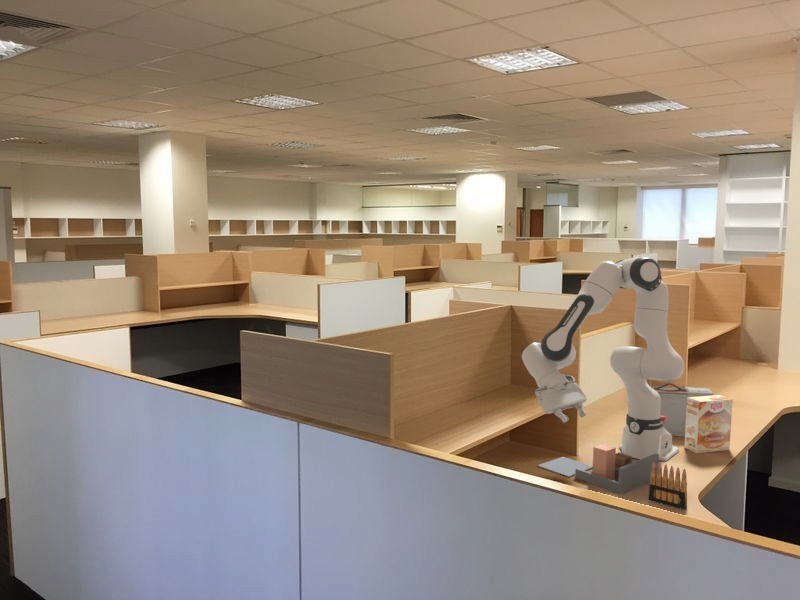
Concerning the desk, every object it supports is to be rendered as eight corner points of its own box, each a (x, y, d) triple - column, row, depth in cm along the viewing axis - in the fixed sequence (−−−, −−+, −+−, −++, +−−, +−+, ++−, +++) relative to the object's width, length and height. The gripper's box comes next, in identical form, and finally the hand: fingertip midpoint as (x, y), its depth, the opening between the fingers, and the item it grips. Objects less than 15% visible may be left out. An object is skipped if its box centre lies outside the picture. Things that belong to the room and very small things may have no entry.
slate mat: (562, 457, 236) (562, 456, 236) (593, 467, 226) (593, 466, 226) (537, 466, 227) (537, 465, 227) (568, 477, 217) (568, 476, 217)
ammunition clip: (648, 500, 199) (649, 461, 198) (650, 498, 201) (652, 460, 199) (684, 509, 192) (686, 470, 191) (687, 507, 194) (688, 468, 192)
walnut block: (618, 469, 225) (619, 452, 224) (631, 473, 221) (632, 456, 220) (610, 472, 222) (610, 455, 221) (623, 477, 218) (623, 459, 217)
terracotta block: (601, 476, 219) (602, 443, 217) (614, 480, 215) (615, 447, 214) (592, 479, 215) (593, 446, 214) (605, 484, 212) (606, 450, 210)
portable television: (711, 438, 258) (715, 363, 255) (647, 434, 263) (650, 360, 260) (704, 429, 270) (707, 357, 267) (643, 425, 275) (646, 355, 272)
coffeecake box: (697, 453, 240) (699, 401, 238) (683, 447, 247) (686, 396, 245) (730, 450, 245) (733, 398, 243) (716, 444, 251) (719, 394, 249)
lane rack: (612, 463, 230) (612, 441, 229) (657, 478, 217) (658, 454, 216) (575, 477, 217) (575, 454, 216) (621, 493, 204) (622, 468, 203)
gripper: (538, 384, 220) (561, 419, 214) (576, 375, 233) (598, 408, 226) (527, 394, 224) (550, 429, 218) (565, 385, 237) (587, 418, 230)
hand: (575, 418), depth 222 cm, fingers open, 8 cm apart
